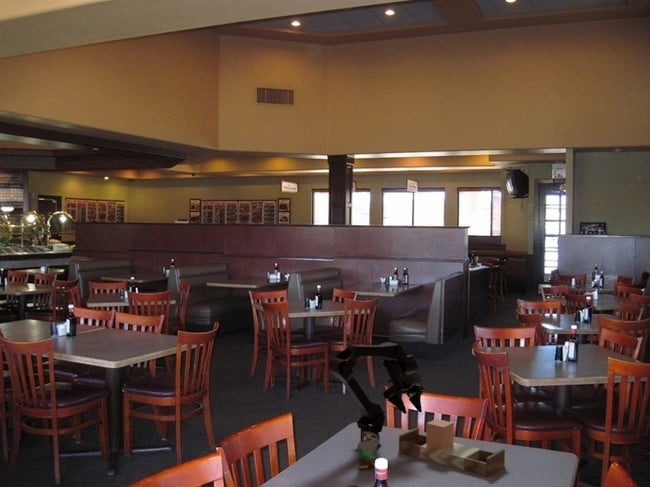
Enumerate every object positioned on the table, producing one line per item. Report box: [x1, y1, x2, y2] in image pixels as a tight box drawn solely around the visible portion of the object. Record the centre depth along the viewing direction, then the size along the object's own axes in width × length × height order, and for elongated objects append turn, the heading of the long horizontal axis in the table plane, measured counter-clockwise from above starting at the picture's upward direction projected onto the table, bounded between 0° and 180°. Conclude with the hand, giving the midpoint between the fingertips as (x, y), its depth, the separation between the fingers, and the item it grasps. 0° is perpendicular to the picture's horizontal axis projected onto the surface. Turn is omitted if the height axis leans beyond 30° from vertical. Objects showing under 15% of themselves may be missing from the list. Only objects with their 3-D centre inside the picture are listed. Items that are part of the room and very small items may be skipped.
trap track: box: [398, 427, 506, 478], centre depth 228 cm, size 36×12×6 cm, turn 50°
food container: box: [358, 432, 379, 471], centre depth 220 cm, size 12×6×10 cm, turn 168°
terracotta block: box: [425, 418, 454, 450], centre depth 230 cm, size 7×7×8 cm
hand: (413, 412), depth 236 cm, fingers open, 9 cm apart
